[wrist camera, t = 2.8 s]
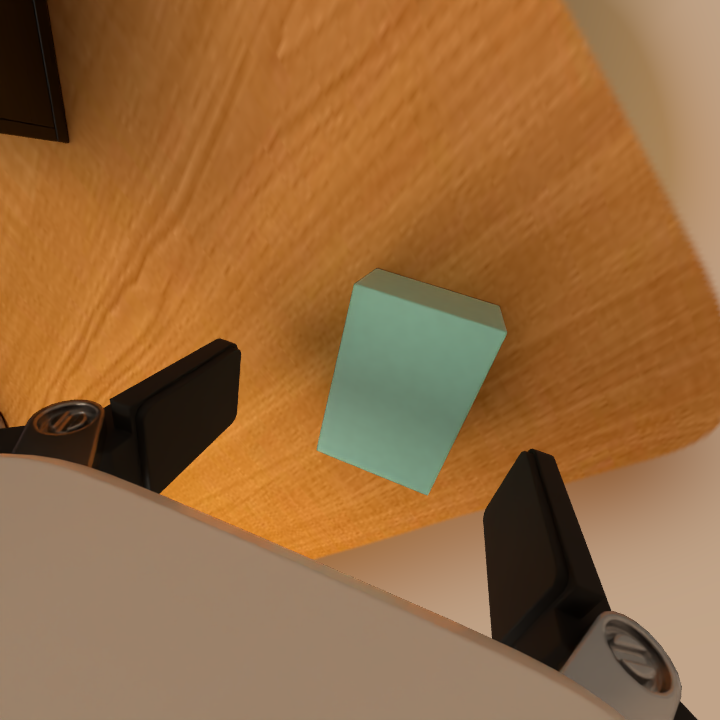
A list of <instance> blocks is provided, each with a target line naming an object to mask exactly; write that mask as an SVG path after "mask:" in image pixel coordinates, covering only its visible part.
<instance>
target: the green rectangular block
mask: <svg viewBox="0 0 720 720" xmlns="http://www.w3.org/2000/svg"><path fill="white" fill-rule="evenodd" d="M506 335H507V330H506V327H505V323H504V320H503V316H502V313H501V310H500V306H498V305H495V304H491V303H488V302H485V301H482V300H478V299H475V298H472V297H469V296H466V295H462V294H459V293H456V292H453V291H449V290H446V289H443V288H440V287H436V286H433V285H430V284H427V283H423V282H420V281H417V280H414V279H410V278H407V277H404V276H401V275H397V274H394V273H391V272H388V271H384V270H381V269H378V268H376V269H375V270H373V271H372V272H370V273H369V274H368V275H366V276H365V277H363V278H362V279H360V280H359V281H358V282H356V283H355V284H354V286H353V291H352V295H351V300H350V304H349V308H348V313H347V317H346V322H345V326H344V330H343V335H342V339H341V344H340V348H339V353H338V357H337V361H336V366H335V370H334V375H333V379H332V383H331V388H330V392H329V397H328V401H327V405H326V410H325V414H324V419H323V423H322V427H321V432H320V436H319V441H318V445H317V451H319V452H322V453H324V454H327V455H329V456H331V457H334V458H336V459H339V460H341V461H344V462H346V463H349V464H351V465H354V466H356V467H358V468H361V469H363V470H366V471H368V472H371V473H373V474H376V475H378V476H381V477H383V478H386V479H388V480H390V481H393V482H395V483H398V484H400V485H403V486H405V487H408V488H410V489H413V490H415V491H417V492H420V493H422V494H425V495H428V494H429V492H430V490H431V488H432V486H433V484H434V482H435V480H436V478H437V476H438V474H439V472H440V470H441V468H442V466H443V464H444V462H445V460H446V457H447V455H448V453H449V451H450V449H451V447H452V445H453V443H454V441H455V439H456V437H457V435H458V433H459V431H460V429H461V427H462V425H463V423H464V421H465V419H466V417H467V415H468V413H469V410H470V408H471V406H472V404H473V402H474V400H475V398H476V396H477V394H478V392H479V390H480V388H481V386H482V384H483V382H484V380H485V378H486V376H487V374H488V372H489V370H490V368H491V365H492V363H493V361H494V359H495V357H496V355H497V353H498V351H499V349H500V347H501V345H502V343H503V341H504V339H505V337H506Z"/></svg>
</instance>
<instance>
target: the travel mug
mask: <svg viewBox="0 0 720 720" xmlns="http://www.w3.org/2000/svg"><path fill="white" fill-rule="evenodd" d="M2 428H6V427H5V423H4V421H3V419H2V417H1V415H0V429H2Z"/></svg>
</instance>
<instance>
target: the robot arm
mask: <svg viewBox="0 0 720 720" xmlns="http://www.w3.org/2000/svg"><path fill="white" fill-rule="evenodd" d="M240 362H241V351H240V350H239V349H238V347H237V345H236V344H235V343H232V342H229V341H226V340H223V339H216V340H214V341H213V342H211V343H209V344H207V345H205V346H204V347H202V348H200V349H198V350H197V351H195V352H193V353H191V354H189V355H188V356H186V357H184V358H182V359H181V360H179V361H177V362H175V363H173V364H172V365H170V366H168V367H166V368H165V369H163V370H161V371H159V372H157V373H156V374H154V375H152V376H150V377H149V378H147V379H145V380H143V381H141V382H140V383H138V384H136V385H134V386H133V387H131V388H129V389H127V390H125V391H124V392H122V393H120V394H118V395H117V396H115V397H113V398H111V399H110V405H108V406H106V407H105V408H103V407H102V406H101V405H100V404H98V403H96V402H93V401H88V400H69V401H62V402H58V403H55V404H51V405H49V406H47V407H45V408H42V409H41V410H39V411H38V412H36V413H35V414H33V415H32V417H31V418H30V419H29V420H28V422H27V424H26V426H19V427H11V428H2V429H0V720H697V719H696V718H695V717H694V715H693V714H692V713H691V712H690V711H689V710H688V709H687V708H686V707H685V706H684V705H683V704H682V703H681V702H680V699H681V690H682V686H681V683H680V679H679V675H678V672H677V671H676V669H675V667H674V665H673V663H672V661H671V659H670V658H669V656H668V655H667V653H666V652H665V651H664V649H663V648H662V647H661V645H660V644H659V643H658V642H657V641H656V640H655V639H654V638H653V636H652V635H651V634H650V633H649V632H648V631H647V630H645V629H644V628H643V627H641V626H640V625H639V624H638V623H637V622H635V621H634V620H632V619H630V618H629V617H627V616H625V615H623V614H620V613H617V612H614V611H611V609H610V606H609V604H608V601H607V598H606V596H605V593H604V590H603V587H602V585H601V582H600V579H599V577H598V574H597V571H596V568H595V566H594V563H593V561H592V558H591V555H590V552H589V550H588V547H587V544H586V542H585V539H584V536H583V534H582V531H581V528H580V525H579V523H578V520H577V518H576V515H575V512H574V510H573V507H572V504H571V502H570V499H569V496H568V494H567V491H566V488H565V485H564V483H563V480H562V477H561V475H560V472H559V469H558V467H557V464H556V461H555V459H554V457H553V456H552V455H549V454H546V453H543V452H541V451H538V450H535V449H530V450H529V451H528V452H526V451H523V452H521V454H520V455H519V457H518V458H517V460H516V461H515V463H514V464H513V466H512V468H511V469H510V471H509V472H508V474H507V476H506V477H505V479H504V480H503V482H502V484H501V485H500V487H499V488H498V490H497V492H496V493H495V495H494V496H493V498H492V500H491V501H490V503H489V504H488V506H487V508H486V510H485V512H484V517H483V524H484V538H485V551H486V564H487V578H488V591H489V605H490V617H491V631H492V639H491V638H489V637H487V636H485V635H483V634H481V633H478V632H476V631H474V630H472V629H470V628H467V627H465V626H463V625H461V624H459V623H457V622H454V621H452V620H450V619H448V618H445V617H443V616H440V615H438V614H436V613H434V612H432V611H429V610H427V609H425V608H423V607H420V606H418V605H415V604H413V603H411V602H409V601H407V600H404V599H402V598H400V597H397V596H395V595H393V594H391V593H388V592H386V591H384V590H381V589H379V588H377V587H375V586H372V585H370V584H368V583H365V582H363V581H361V580H359V579H356V578H354V577H352V576H349V575H347V574H345V573H342V572H340V571H338V570H335V569H333V568H331V567H328V566H326V565H324V564H322V563H319V562H317V561H315V560H312V559H310V558H308V557H305V556H303V555H301V554H298V553H296V552H294V551H291V550H289V549H287V548H285V547H282V546H280V545H278V544H275V543H273V542H271V541H268V540H266V539H264V538H261V537H259V536H257V535H254V534H252V533H250V532H247V531H245V530H243V529H240V528H238V527H236V526H233V525H231V524H228V523H226V522H224V521H221V520H219V519H217V518H214V517H212V516H210V515H207V514H205V513H203V512H200V511H198V510H195V509H193V508H191V507H188V506H186V505H184V504H181V503H179V502H177V501H174V500H172V499H170V498H167V497H165V496H163V495H160V494H159V493H161V492H162V491H163V490H164V489H165V488H166V487H167V486H168V485H169V484H170V483H171V482H172V481H173V480H174V479H175V478H176V477H177V476H178V475H179V474H180V473H181V472H182V471H183V470H184V469H185V468H186V467H187V466H188V465H190V464H191V463H192V462H193V461H194V460H195V459H196V458H197V457H198V456H199V455H200V454H201V453H202V452H203V451H204V450H205V449H206V448H207V447H208V446H209V445H210V444H211V443H212V442H213V441H214V440H215V439H216V438H217V437H218V436H219V435H220V434H221V433H222V432H224V431H225V430H226V429H227V428H228V427H229V426H230V425H231V424H232V423H233V421H234V420H235V418H236V415H237V404H238V390H239V376H240Z"/></svg>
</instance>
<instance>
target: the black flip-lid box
mask: <svg viewBox="0 0 720 720" xmlns="http://www.w3.org/2000/svg"><path fill="white" fill-rule="evenodd" d="M0 133H2V134H8V135H15V136H22V137H29V138H35V139H42V140H49V141H57V142H63V143H69V139H68V133H67V127H66V120H65V114H64V108H63V102H62V96H61V89H60V83H59V77H58V71H57V65H56V58H55V52H54V46H53V40H52V33H51V27H50V21H49V15H48V9H47V2H46V0H0Z"/></svg>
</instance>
